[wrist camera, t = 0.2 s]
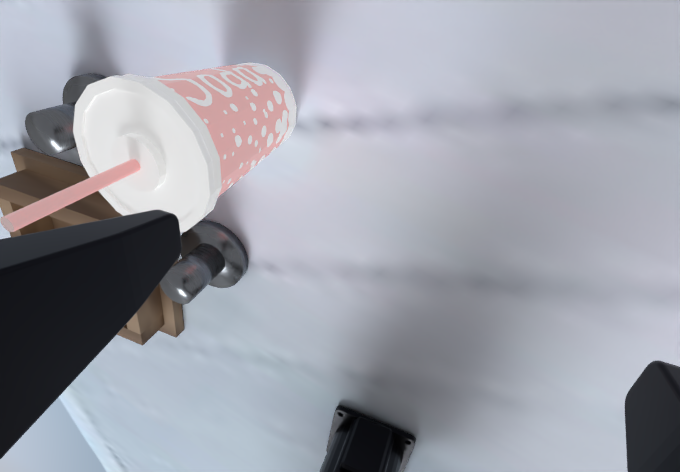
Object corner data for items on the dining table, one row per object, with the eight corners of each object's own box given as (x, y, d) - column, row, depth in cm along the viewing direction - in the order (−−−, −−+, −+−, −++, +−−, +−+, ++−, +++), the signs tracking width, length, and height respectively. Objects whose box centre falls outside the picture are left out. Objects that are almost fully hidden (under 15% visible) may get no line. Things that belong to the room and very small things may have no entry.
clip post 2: (247, 290, 30) (212, 330, 27) (188, 268, 31) (147, 304, 28) (248, 233, 28) (208, 269, 24) (184, 212, 29) (137, 243, 25)
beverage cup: (332, 105, 21) (126, 238, 10) (272, 181, 25) (70, 341, 14) (242, 18, 21) (-84, 55, 9) (194, 108, 24) (-85, 213, 13)
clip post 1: (142, 160, 28) (87, 186, 24) (82, 142, 29) (21, 163, 25) (131, 83, 25) (68, 99, 21) (65, 66, 26) (-6, 78, 22)
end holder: (184, 329, 35) (155, 359, 33) (63, 281, 38) (27, 304, 35) (170, 195, 28) (132, 218, 26) (23, 147, 31) (-26, 163, 28)
